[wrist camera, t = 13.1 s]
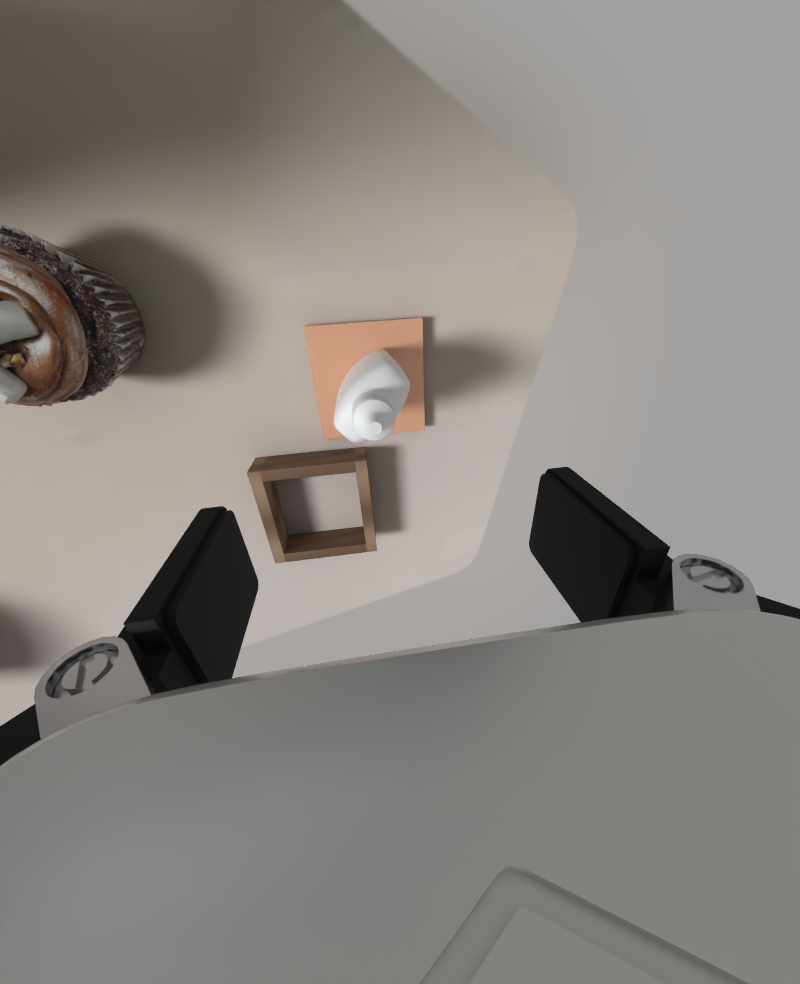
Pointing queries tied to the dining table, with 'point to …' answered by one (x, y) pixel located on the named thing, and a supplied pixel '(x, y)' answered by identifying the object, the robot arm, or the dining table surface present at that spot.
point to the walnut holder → (309, 466)
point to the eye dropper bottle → (371, 398)
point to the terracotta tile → (352, 341)
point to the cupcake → (60, 323)
